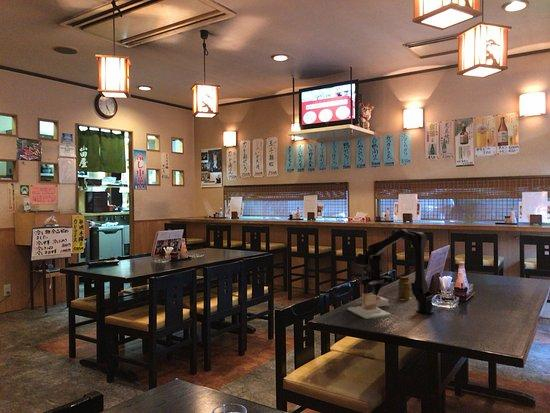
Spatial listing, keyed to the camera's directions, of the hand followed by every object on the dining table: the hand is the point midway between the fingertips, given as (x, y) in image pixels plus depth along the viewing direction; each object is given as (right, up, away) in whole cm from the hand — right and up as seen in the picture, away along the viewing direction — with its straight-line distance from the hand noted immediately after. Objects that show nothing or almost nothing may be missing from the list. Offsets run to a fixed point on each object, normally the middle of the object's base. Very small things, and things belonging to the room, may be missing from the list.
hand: (375, 296), depth 233 cm
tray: (-7, -5, -17) cm, 19 cm away
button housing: (0, -4, 0) cm, 4 cm away
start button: (0, -3, 0) cm, 3 cm away
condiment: (+19, -4, +14) cm, 24 cm away
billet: (-7, -4, -17) cm, 19 cm away
